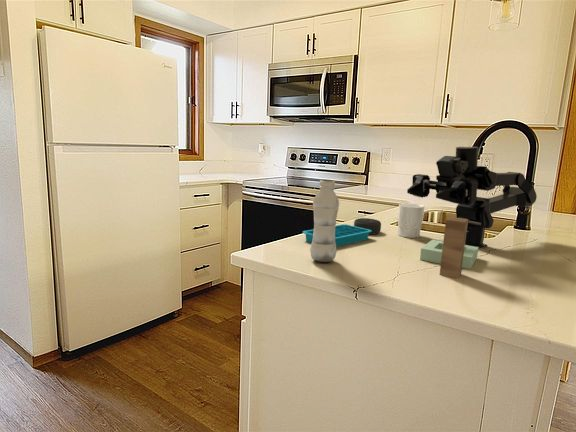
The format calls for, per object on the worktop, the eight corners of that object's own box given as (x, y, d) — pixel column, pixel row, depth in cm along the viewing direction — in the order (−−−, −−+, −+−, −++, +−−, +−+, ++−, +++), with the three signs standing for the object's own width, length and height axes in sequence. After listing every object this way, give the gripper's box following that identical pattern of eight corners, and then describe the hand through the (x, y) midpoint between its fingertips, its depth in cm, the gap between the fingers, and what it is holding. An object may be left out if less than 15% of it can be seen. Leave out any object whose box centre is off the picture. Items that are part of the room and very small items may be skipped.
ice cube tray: (300, 241, 117) (300, 231, 116) (344, 232, 130) (344, 223, 130) (329, 250, 108) (329, 239, 108) (373, 240, 122) (373, 230, 121)
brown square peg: (443, 270, 94) (449, 216, 91) (461, 273, 92) (468, 219, 89) (439, 274, 91) (446, 219, 88) (458, 278, 88) (465, 222, 86)
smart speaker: (370, 228, 138) (371, 217, 137) (385, 234, 130) (386, 222, 129) (348, 229, 134) (349, 218, 133) (363, 235, 126) (364, 223, 125)
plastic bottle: (338, 259, 99) (343, 180, 96) (332, 266, 93) (337, 182, 89) (313, 255, 101) (317, 178, 98) (306, 263, 95) (310, 180, 91)
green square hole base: (430, 249, 112) (432, 239, 111) (477, 258, 105) (478, 247, 105) (419, 259, 102) (421, 248, 101) (470, 269, 95) (471, 257, 95)
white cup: (422, 239, 124) (426, 208, 122) (396, 237, 125) (399, 206, 124) (419, 233, 132) (422, 204, 130) (395, 231, 133) (398, 202, 131)
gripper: (431, 154, 116) (394, 160, 108) (492, 157, 101) (454, 165, 93) (430, 191, 119) (394, 199, 111) (489, 200, 103) (452, 211, 96)
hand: (421, 193), depth 103 cm, fingers open, 9 cm apart
